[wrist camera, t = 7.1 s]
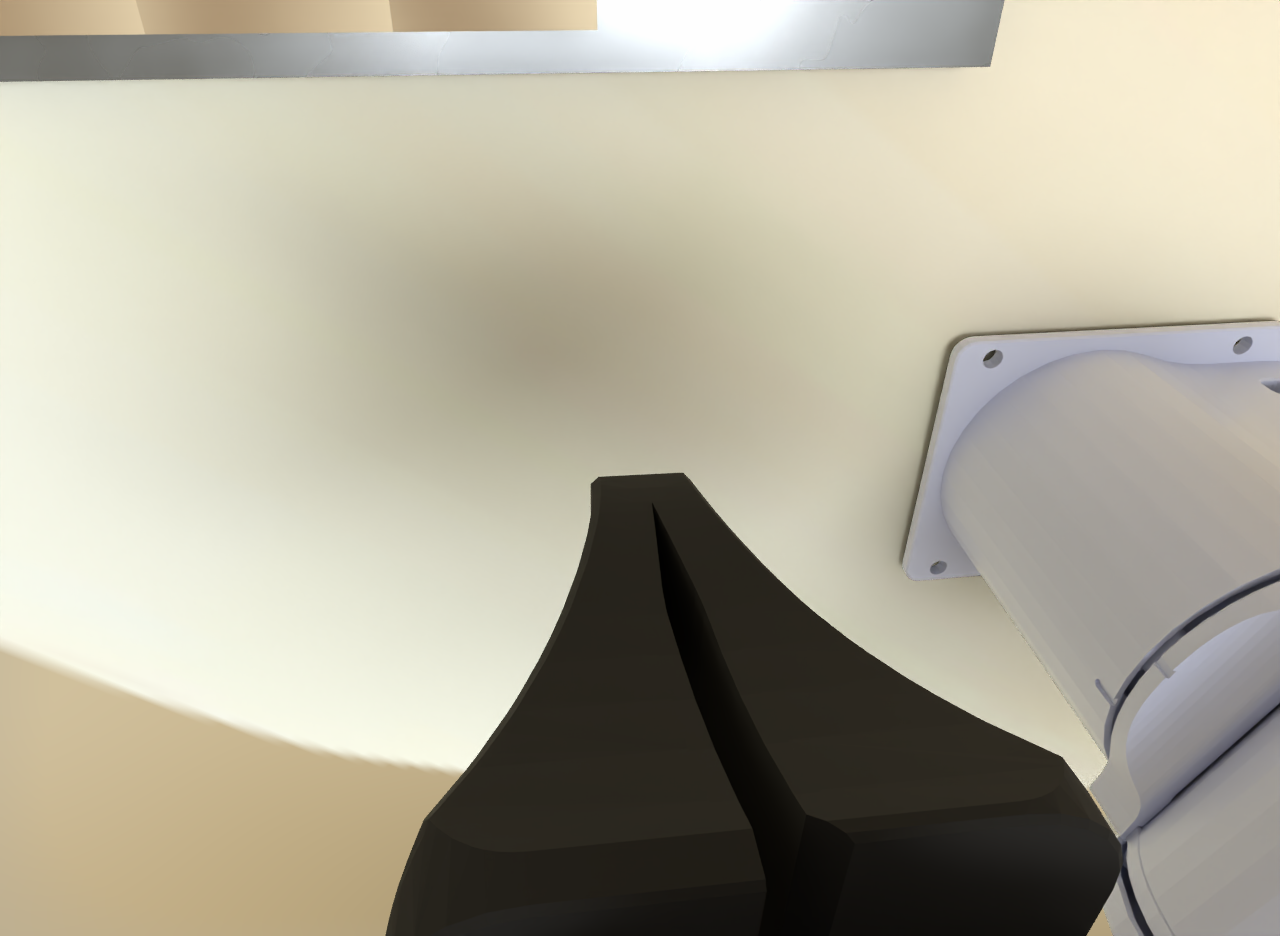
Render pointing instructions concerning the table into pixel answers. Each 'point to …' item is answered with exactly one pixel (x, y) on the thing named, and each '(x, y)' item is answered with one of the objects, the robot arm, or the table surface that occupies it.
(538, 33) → the silver double slider board
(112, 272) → the table surface
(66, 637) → the table surface
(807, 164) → the table surface
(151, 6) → the panel
